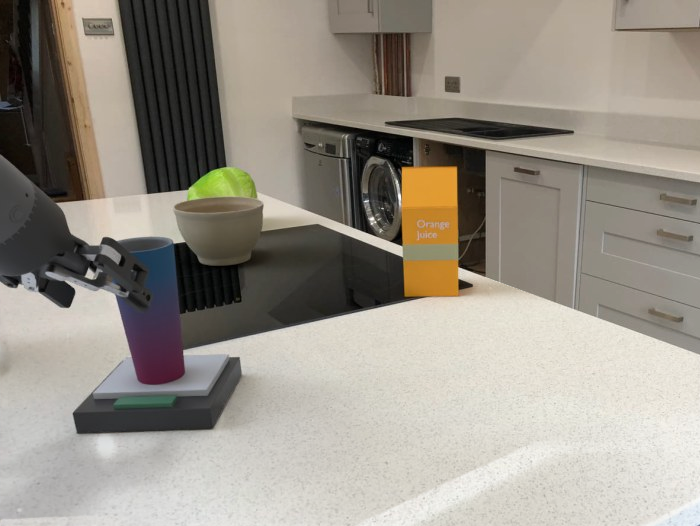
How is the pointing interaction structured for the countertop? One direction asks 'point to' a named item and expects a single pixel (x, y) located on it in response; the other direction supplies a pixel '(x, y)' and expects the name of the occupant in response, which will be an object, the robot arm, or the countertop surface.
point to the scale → (160, 398)
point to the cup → (155, 314)
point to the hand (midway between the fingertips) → (107, 301)
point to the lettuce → (223, 184)
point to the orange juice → (430, 231)
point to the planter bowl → (220, 228)
